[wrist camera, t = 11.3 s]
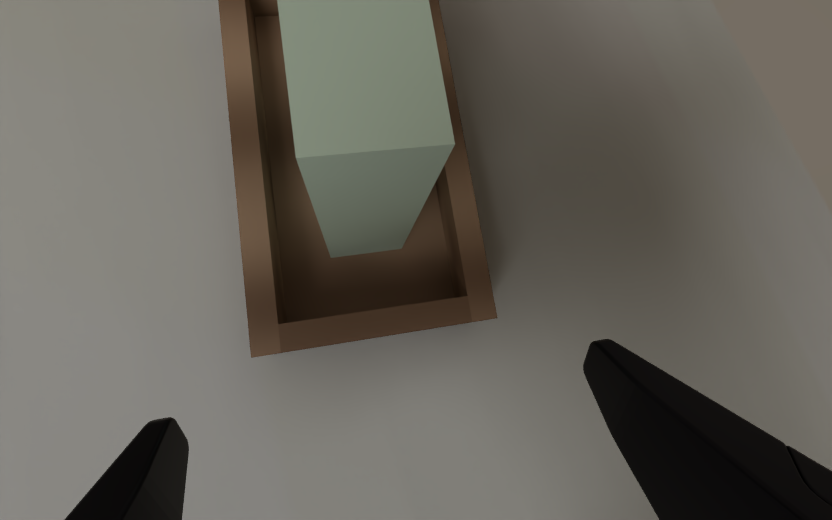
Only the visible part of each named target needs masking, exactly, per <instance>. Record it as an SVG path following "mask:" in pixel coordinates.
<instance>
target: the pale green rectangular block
mask: <svg viewBox="0 0 832 520" xmlns="http://www.w3.org/2000/svg"><path fill="white" fill-rule="evenodd" d="M277 3H278V12H279V20H280V29H281V37H282V46H283V54H284V63H285V71H286V79H287V88H288V96H289V105H290V113H291V122H292V130H293V139H294V147H295V155H296V160H297V163H298V166H299V169H300V171H301V174H302V177H303V180H304V183H305V186H306V188H307V191H308V194H309V197H310V200H311V203H312V206H313V208H314V211H315V214H316V217H317V220H318V223H319V225H320V228H321V231H322V234H323V237H324V240H325V242H326V245H327V248H328V251H329V254H330V257H331V258H334V257H342V256H349V255H357V254H365V253H373V252H381V251H388V250H396V249H402V247H403V245H404V243H405V241H406V239H407V237H408V235H409V233H410V231H411V229H412V227H413V225H414V223H415V221H416V219H417V217H418V216H419V214H420V212H421V210H422V208H423V206H424V204H425V202H426V200H427V198H428V196H429V194H430V192H431V190H432V188H433V186H434V184H435V182H436V180H437V178H438V176H439V174H440V173H441V171H442V169H443V167H444V165H445V163H446V161H447V159H448V157H449V155H450V153H451V151H452V149H453V147H454V145H455V141H454V135H453V130H452V124H451V119H450V113H449V108H448V103H447V97H446V92H445V86H444V81H443V75H442V70H441V64H440V59H439V53H438V48H437V42H436V37H435V32H434V26H433V21H432V15H431V10H430V4H429V0H277Z"/></svg>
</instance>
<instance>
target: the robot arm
mask: <svg viewBox="0 0 832 520" xmlns="http://www.w3.org/2000/svg"><path fill="white" fill-rule="evenodd" d="M583 370H584V374H585V377H586V379H587V381H588V383H589V386H590V388H591V390H592V392H593V395H594V397H595V399H596V401H597V404H598V406H599V408H600V410H601V413H602V415H603V417H604V419H605V422H606V424H607V426H608V428H609V430H610V432H611V435H612V437H613V438H614V440H615V442H616V444H617V446H618V448H619V449H620V451H621V453H622V455H623V456H624V458H625V460H626V462H627V463H628V465H629V467H630V469H631V470H632V472H633V474H634V476H635V477H636V479H637V481H638V483H639V484H640V486H641V488H642V490H643V491H644V493H645V495H646V497H647V499H648V500H649V502H650V504H651V506H652V507H653V509H654V511H655V513H656V514H657V516H658V518H659V520H832V471H831V470H829V469H827V468H826V467H824V466H822V465H820V464H819V463H817V462H815V461H813V460H812V459H810V458H808V457H807V456H805V455H803V454H802V453H800V452H798V451H797V450H795V449H793V448H792V447H790V446H786V445H785V444H784V443H783V442H781V441H780V440H778V439H776V438H775V437H773V436H771V435H770V434H768V433H766V432H765V431H763V430H761V429H760V428H758V427H756V426H755V425H753V424H751V423H750V422H748V421H746V420H745V419H743V418H741V417H740V416H738V415H736V414H735V413H733V412H731V411H730V410H728V409H726V408H725V407H723V406H721V405H720V404H718V403H716V402H715V401H713V400H711V399H709V398H708V397H706V396H704V395H703V394H701V393H699V392H698V391H696V390H694V389H693V388H691V387H689V386H688V385H686V384H684V383H683V382H681V381H679V380H678V379H676V378H674V377H673V376H671V375H669V374H668V373H666V372H664V371H663V370H661V369H659V368H658V367H656V366H654V365H653V364H651V363H649V362H648V361H646V360H644V359H643V358H641V357H639V356H638V355H636V354H634V353H633V352H631V351H629V350H628V349H626V348H624V347H623V346H621V345H619V344H618V343H616V342H614V341H612V340H610V339H603V340H598V341H593V342H592V343H591V344H590V346H589V349H588V352H587V355H586V358H585V361H584V365H583ZM188 453H189V446H188V441H187V439H186V437H185V435H184V433H183V432H182V430H181V428H180V427H179V425H178V423H177V422H176V420H175V419H174V418H171V417H168V418H163V419H157V420H153V421H150V422H149V423H147V424H146V425H145V426H144V427H143V428H142V430H141V431H140V432H139V433H138V434H137V435H136V437H135V438H134V439H133V440H132V441H131V442H130V444H129V445H128V446H127V447H126V448H125V449H124V451H123V452H122V453H121V454H120V455H119V456H118V458H117V459H116V460H115V461H114V462H113V464H112V465H111V466H110V467H109V468H108V469H107V471H106V472H105V473H104V474H103V475H102V476H101V478H100V479H99V480H98V481H97V482H96V483H95V485H94V486H93V487H92V488H91V489H90V490H89V492H88V493H87V494H86V495H85V496H84V497H83V499H82V500H81V501H80V502H79V503H78V504H77V506H76V507H75V508H74V509H73V510H72V511H71V513H70V514H69V515H68V516H67V517H66V519H65V520H182V513H183V503H184V493H185V483H186V473H187V463H188Z"/></svg>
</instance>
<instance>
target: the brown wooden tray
mask: <svg viewBox="0 0 832 520" xmlns="http://www.w3.org/2000/svg"><path fill="white" fill-rule="evenodd" d="M218 1H219V12H220V23H221V34H222V45H223V56H224V67H225V77H226V88H227V99H228V110H229V121H230V132H231V143H232V154H233V165H234V176H235V187H236V198H237V208H238V219H239V230H240V241H241V252H242V263H243V274H244V285H245V296H246V307H247V318H248V329H249V339H250V350H251V358H252V357H258V356H264V355H271V354H277V353H283V352H289V351H295V350H302V349H308V348H314V347H320V346H326V345H333V344H339V343H345V342H351V341H358V340H364V339H370V338H376V337H382V336H389V335H395V334H401V333H407V332H413V331H420V330H426V329H432V328H438V327H445V326H451V325H457V324H463V323H469V322H476V321H482V320H488V319H494V318H497V313H496V308H495V303H494V297H493V292H492V286H491V281H490V276H489V270H488V265H487V260H486V254H485V249H484V243H483V238H482V233H481V227H480V222H479V216H478V211H477V206H476V200H475V195H474V189H473V184H472V179H471V173H470V168H469V163H468V157H467V152H466V146H465V141H464V136H463V130H462V125H461V119H460V114H459V109H458V103H457V98H456V92H455V87H454V82H453V76H452V71H451V66H450V60H449V55H448V49H447V44H446V39H445V33H444V28H443V22H442V17H441V12H440V6H439V1H438V0H429V4H430V10H431V15H432V21H433V26H434V32H435V37H436V42H437V48H438V53H439V59H440V64H441V70H442V75H443V81H444V86H445V92H446V97H447V103H448V108H449V113H450V119H451V124H452V130H453V135H454V141H455V145H454V147H453V149H452V151H451V153H450V155H449V157H448V159H447V161H446V163H445V165H444V167H443V169H442V171H441V173H440V174H439V176H438V178H437V180H436V182H435V184H434V186H433V188H432V190H431V192H430V194H429V196H428V198H427V200H426V202H425V204H424V206H423V208H422V210H421V212H420V214H419V216H418V217H417V219H416V221H415V223H414V225H413V227H412V229H411V231H410V233H409V235H408V237H407V239H406V241H405V243H404V245H403V247H402V249H396V250H388V251H381V252H373V253H365V254H357V255H349V256H342V257H334V258H331V257H330V254H329V251H328V248H327V245H326V242H325V240H324V237H323V234H322V231H321V228H320V225H319V223H318V220H317V217H316V214H315V211H314V208H313V206H312V203H311V200H310V197H309V194H308V191H307V188H306V186H305V183H304V180H303V177H302V174H301V171H300V169H299V166H298V163H297V160H296V155H295V147H294V139H293V130H292V122H291V113H290V105H289V96H288V88H287V79H286V71H285V63H284V54H283V46H282V37H281V29H280V20H279V12H278V3H277V0H218Z"/></svg>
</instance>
